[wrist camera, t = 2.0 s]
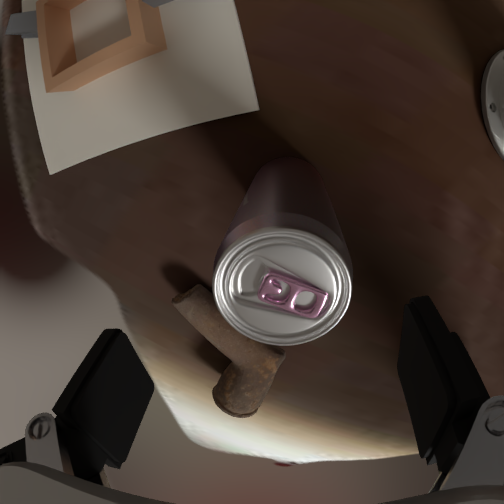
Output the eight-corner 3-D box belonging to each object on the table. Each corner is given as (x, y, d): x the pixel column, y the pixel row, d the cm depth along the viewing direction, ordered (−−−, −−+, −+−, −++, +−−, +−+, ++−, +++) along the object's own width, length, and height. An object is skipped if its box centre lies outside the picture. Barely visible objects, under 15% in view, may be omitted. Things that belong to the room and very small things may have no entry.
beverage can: (306, 234, 27) (315, 363, 14) (242, 209, 27) (191, 321, 13) (335, 172, 24) (384, 260, 11) (267, 144, 24) (233, 198, 11)
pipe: (187, 292, 26) (126, 351, 28) (312, 391, 30) (244, 431, 32) (200, 263, 32) (145, 318, 34) (305, 354, 36) (246, 394, 38)
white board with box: (205, -101, 12) (191, -125, 8) (259, 109, 23) (252, 110, 18) (26, -8, 17) (-2, -13, 13) (54, 173, 27) (24, 186, 23)
